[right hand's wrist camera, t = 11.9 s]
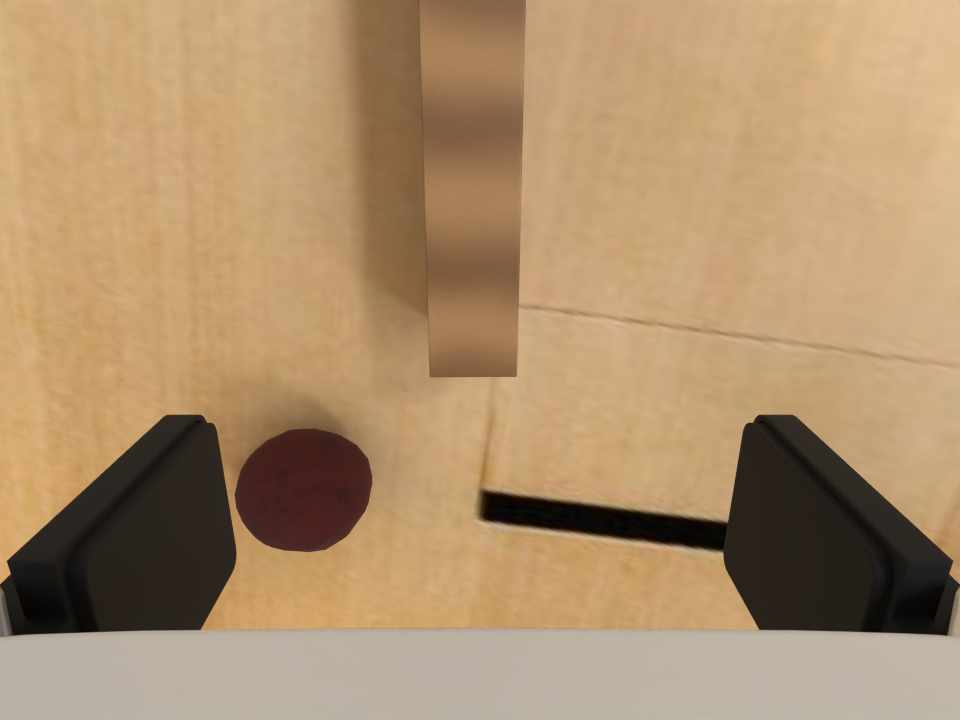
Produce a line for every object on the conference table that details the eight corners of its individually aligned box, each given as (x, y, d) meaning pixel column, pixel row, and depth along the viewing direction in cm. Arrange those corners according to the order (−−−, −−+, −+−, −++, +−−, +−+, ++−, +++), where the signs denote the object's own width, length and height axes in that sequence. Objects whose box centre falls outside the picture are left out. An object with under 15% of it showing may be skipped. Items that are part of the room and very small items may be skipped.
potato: (238, 431, 39) (192, 493, 33) (351, 391, 39) (327, 446, 32) (291, 523, 42) (258, 597, 35) (398, 487, 41) (385, 557, 34)
